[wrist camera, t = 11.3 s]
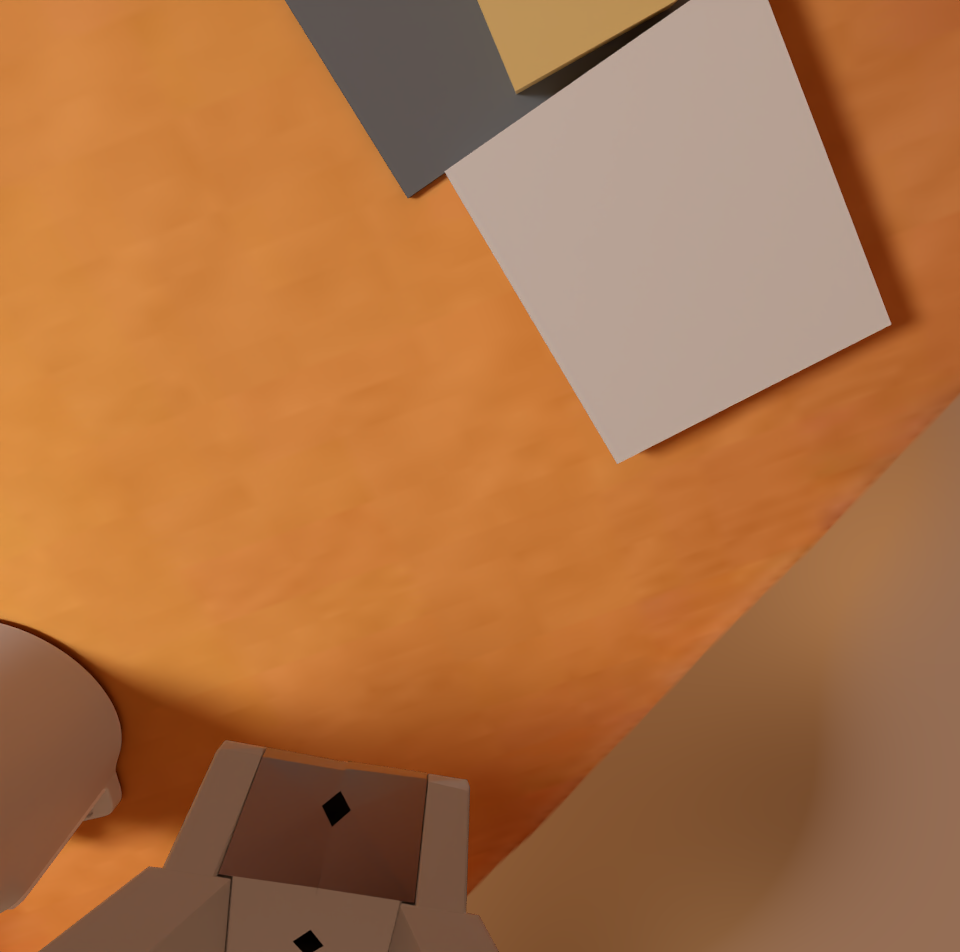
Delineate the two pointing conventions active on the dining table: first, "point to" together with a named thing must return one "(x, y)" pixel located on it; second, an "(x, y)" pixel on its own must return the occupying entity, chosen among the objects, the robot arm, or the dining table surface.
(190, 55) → the dining table surface
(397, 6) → the mat
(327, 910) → the robot arm
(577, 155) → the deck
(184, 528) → the dining table surface
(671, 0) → the yellow rectangular block
